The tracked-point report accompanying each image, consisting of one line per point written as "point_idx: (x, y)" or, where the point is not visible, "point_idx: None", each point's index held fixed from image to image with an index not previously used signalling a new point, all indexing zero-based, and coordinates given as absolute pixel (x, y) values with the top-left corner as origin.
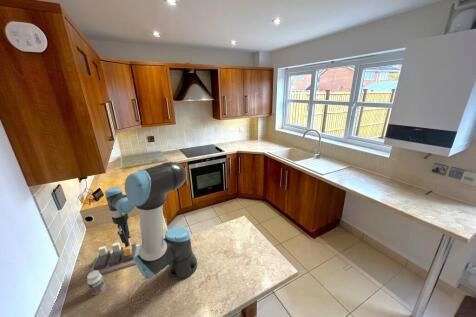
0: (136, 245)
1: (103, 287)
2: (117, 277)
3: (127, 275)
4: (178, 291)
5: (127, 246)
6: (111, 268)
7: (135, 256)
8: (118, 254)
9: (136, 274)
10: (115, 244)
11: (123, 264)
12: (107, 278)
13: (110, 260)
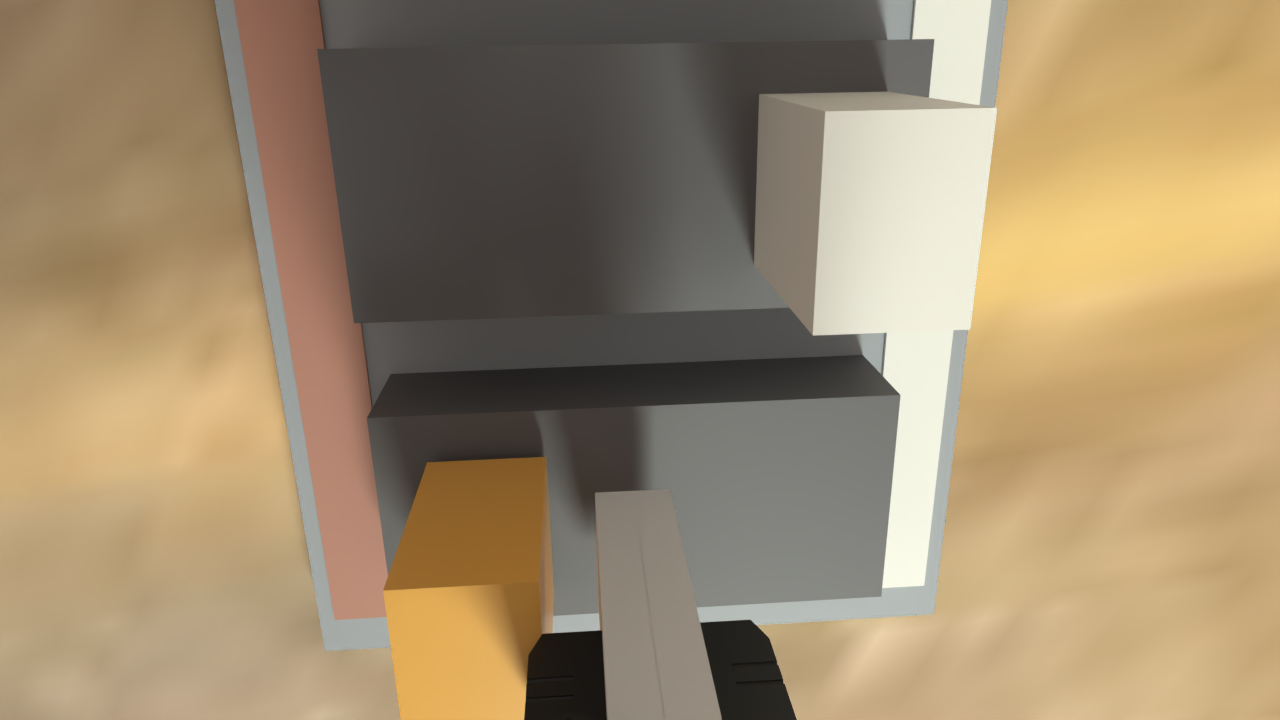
0: (901, 532)
1: None
2: (37, 292)
3: (55, 479)
4: None
5: None
6: (257, 121)
7: None
8: (607, 257)
9: (48, 632)
10: (893, 219)
11: (315, 385)
12: (49, 66)
13: (415, 81)
